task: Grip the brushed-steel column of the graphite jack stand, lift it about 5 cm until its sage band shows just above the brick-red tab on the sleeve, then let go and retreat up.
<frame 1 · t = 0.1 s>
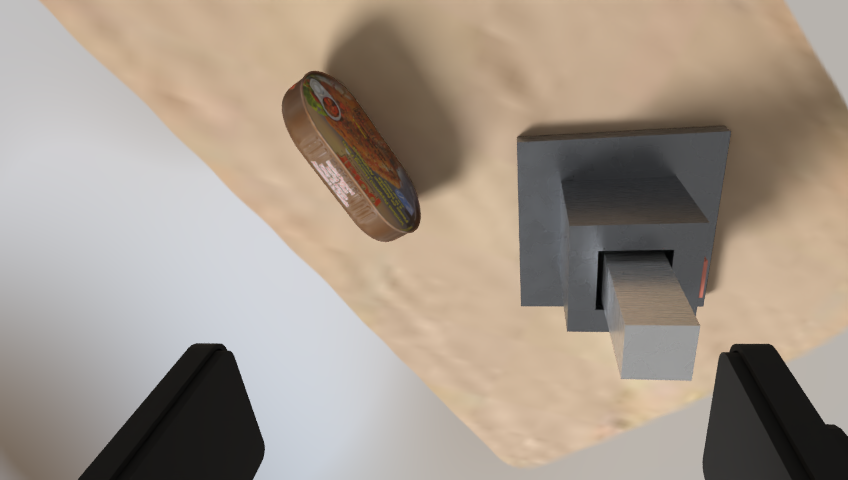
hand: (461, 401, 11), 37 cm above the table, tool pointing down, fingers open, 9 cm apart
tin: (368, 144, 48), on the table
jack base: (611, 220, 47), on the table
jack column: (633, 281, 39), point 10 cm above the table, slide at 0.0 cm
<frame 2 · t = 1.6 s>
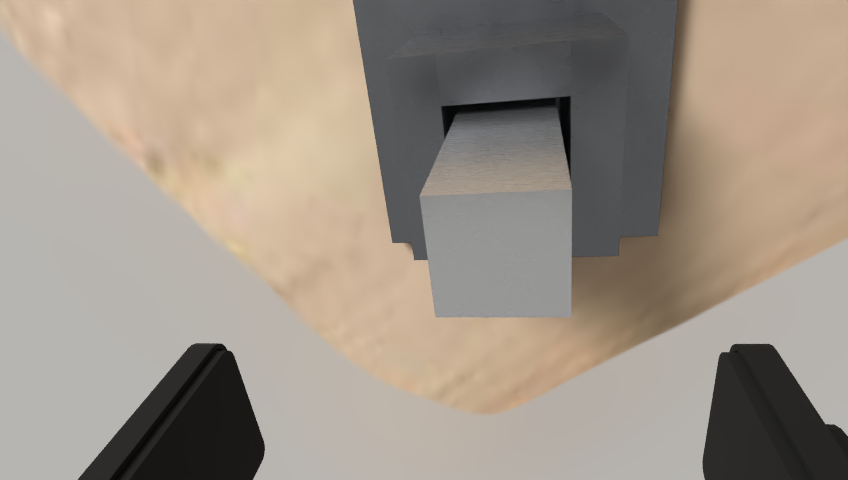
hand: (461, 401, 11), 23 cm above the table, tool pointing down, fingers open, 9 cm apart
jack base: (513, 103, 31), on the table
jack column: (507, 162, 22), point 10 cm above the table, slide at 0.0 cm
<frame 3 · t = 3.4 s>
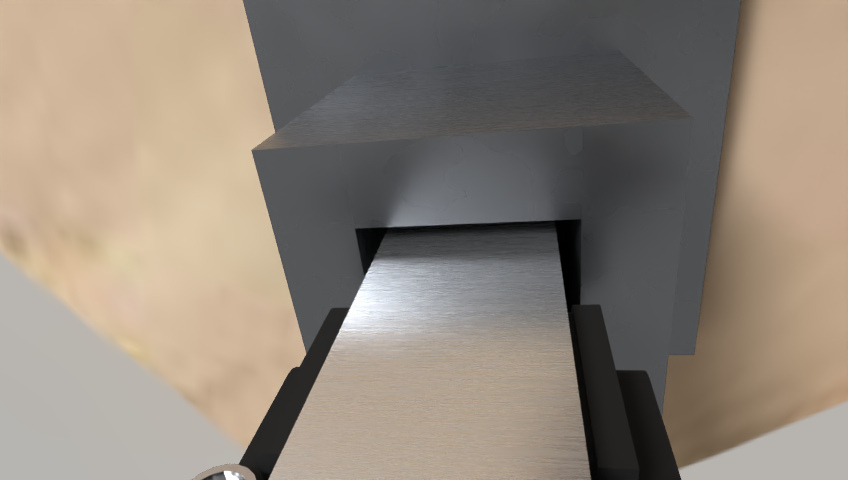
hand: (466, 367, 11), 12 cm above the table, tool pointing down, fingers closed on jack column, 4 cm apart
jack base: (490, 172, 22), on the table
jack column: (472, 317, 13), point 10 cm above the table, slide at 0.0 cm, touching gripper
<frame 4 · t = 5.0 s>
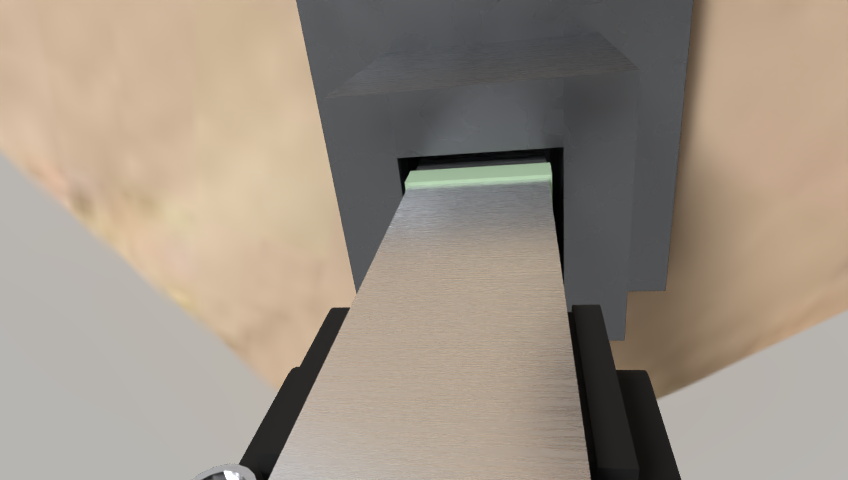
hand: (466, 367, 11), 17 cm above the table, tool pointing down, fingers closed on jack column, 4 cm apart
jack base: (494, 136, 26), on the table
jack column: (472, 317, 13), point 15 cm above the table, slide at 4.9 cm, touching gripper
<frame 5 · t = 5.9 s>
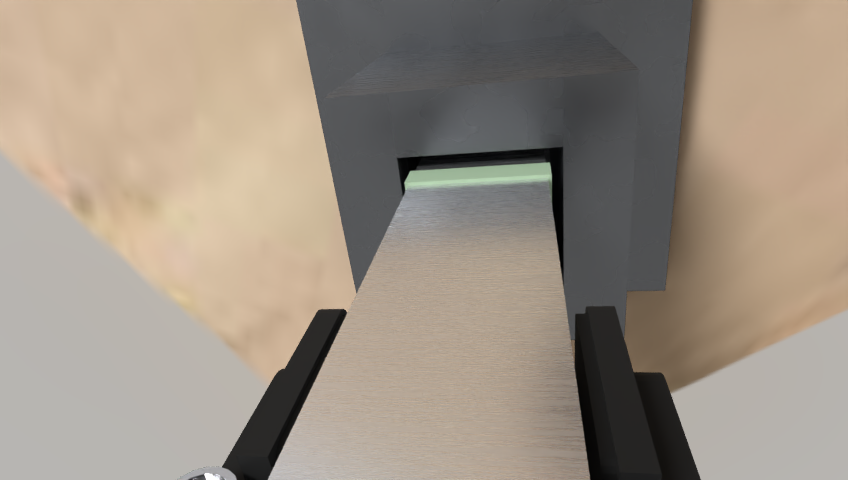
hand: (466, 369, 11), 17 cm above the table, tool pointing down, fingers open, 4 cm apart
jack base: (494, 136, 26), on the table
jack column: (472, 317, 13), point 15 cm above the table, slide at 5.0 cm
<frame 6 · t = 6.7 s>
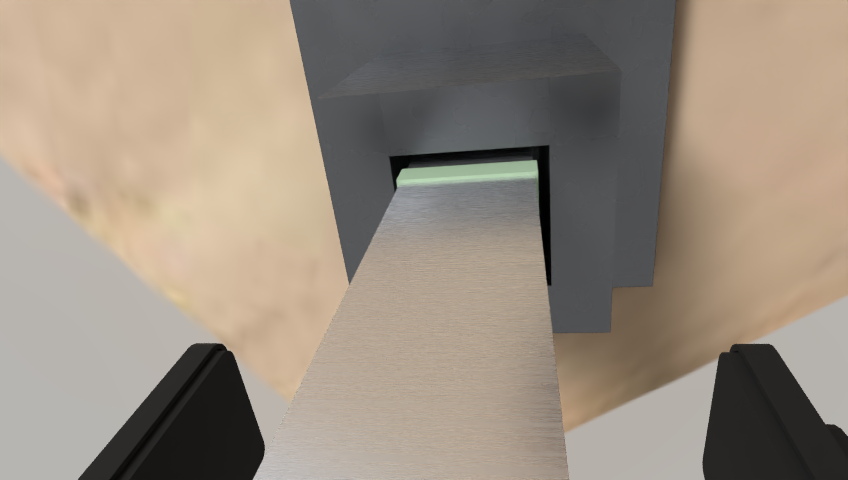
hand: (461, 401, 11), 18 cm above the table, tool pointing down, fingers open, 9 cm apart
jack base: (485, 136, 27), on the table
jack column: (461, 308, 14), point 15 cm above the table, slide at 5.0 cm
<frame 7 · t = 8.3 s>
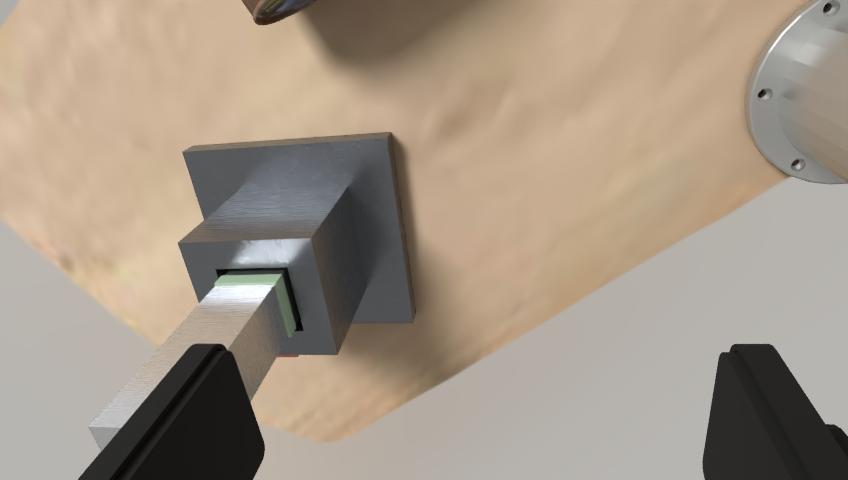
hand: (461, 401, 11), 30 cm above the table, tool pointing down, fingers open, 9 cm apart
jack base: (309, 233, 45), on the table
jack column: (225, 348, 31), point 15 cm above the table, slide at 5.0 cm
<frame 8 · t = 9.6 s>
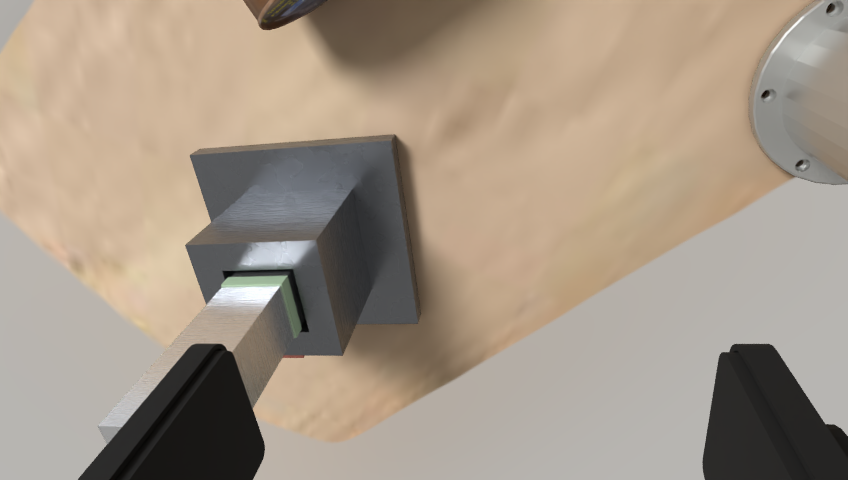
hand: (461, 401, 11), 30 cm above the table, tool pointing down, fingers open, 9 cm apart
jack base: (315, 235, 45), on the table
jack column: (232, 348, 32), point 15 cm above the table, slide at 5.0 cm
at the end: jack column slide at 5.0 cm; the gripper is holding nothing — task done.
